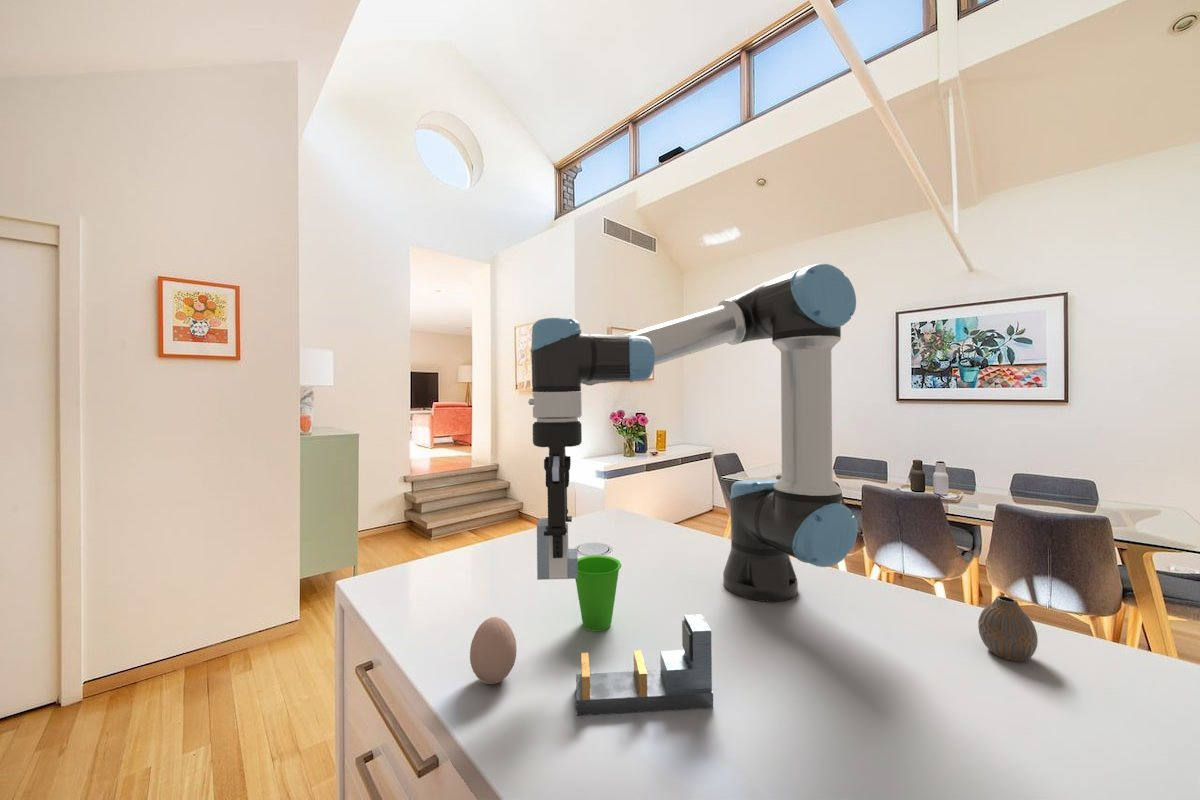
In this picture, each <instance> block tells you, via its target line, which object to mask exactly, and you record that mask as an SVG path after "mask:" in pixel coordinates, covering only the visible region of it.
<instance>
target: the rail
mask: <svg viewBox="0 0 1200 800" xmlns="http://www.w3.org/2000/svg"><path fill="white" fill-rule="evenodd" d="M683 617H684V618H683V619H684V620H681V630H682V631H681V633H682V634H681V635H682V636H681V638H682V639H681V640H682V641H681V642H682V647H683V649H677V650H660V653H659V654H660V658H659V659H660V669H655V670H647V669H646V668H647V667H646V665H645V664H646V663H645V661H644V657H643V654H642V650H641V649H637V650H635V649H634V650H633V670H631V671H618V672H617V671H616V672H615V671H614V672H597V673H595V672H594V673H590V672H591V671H590V670H591V669H590V661H589V660H590V659H589V652H581V654H580V657H581V658H580V660H581V662H580V663H581V664H580V665H581V670H580V671H581V672H580V673H579V674H578V673H577V674H576V675H575V684H576V685H575V686H576V687H575V689H576V690H575V691H576V716H577V717H579V716H581V717H583V716H596V715H598V716H600V715H614V714H633V713H635V714H636V713H650V712H651V713H652V712H667V711H668V712H669V711H685V710H704V709H714V692H713V685H712V684H713V672H712V671H713V669H712V668H713V666H712V663H713V662H712V661H713V659H712V658H713V657H712V656H713V655H712V653H713V651H712V629H711V628H710V626H709V624H708V623H707V620H705V619H706V618H705V617H704V616H703V615H702V614H699V613H698V614H697V613H696V614H684V615H683Z"/></svg>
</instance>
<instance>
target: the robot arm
mask: <svg viewBox="0 0 1200 800" xmlns="http://www.w3.org/2000/svg"><path fill="white" fill-rule="evenodd" d="M856 296H857V295H856V292H855V288H854V286H853V284H852V281H851V279H849V277H848V276H846V275H845V273H844V272H843V271H842V269H840V268H838V267H837V266H835V265H832V264H828V263H816V264H813V265H808V266H802V267H800V268H798V269H796V270H794V271H792V272H789V273H787V274H784V275H781V276H779V277H776V278H773V279H771V280H767V281H764V282H763V283H760V284H758V285H757V286H754V287H753V288H751V289H749V290H747V291H744V292H742V293H740V294H737V295H736V296H733V297H730V298H726V299H724V300H721V301H720V302H719V303H718V304H717V306H716V307H713V308H710V309H707V310H704V311H699V312H695V313H693V314H690V315H685V316H683V317H682V316H681V317H680V318H676V319H673V320H669V321H666V322H665V321H664V322H662V323H659V324H655V325H651V326H648V327H645V328H642V329H638V330H635V331H632V332H628V333H624V334H591V333H585V332H582V329H581V325H580V322H579V321H578V320H577V319H574V318H567V317H546V318H541V319H538V320H537V321H535V322H534V324H533V325H532V328H531V349H530V353H531V354H530V355H531V356H530V357H531V386H532V398H529V400H528V405H530V406H532V417H533V418H534V419H536V421H534V422H533V424H532V444H533V445H534V446H535V447H538V448H548V456H545V457H544V459H543V469H544V471H545V487H546V489H547V518H548V529H547V531H544V536H549V579H548V580H560V579H559V578H568V565H567V549H569V523H572V522H573V521H572V519H573V517H572V515H571V516H569V515H568V514H569V510H568V488H569V485H570V470H571V463H572V461H571V456H567V455H566V448H567V447H569V448H570V447H578V446H580V445H581V444H582V441H583V440H582V438H583V437H582V432H583V431H582V423H581V421H579V420H578V419H579V418H581V417H582V415H583V414H582V413H583V412H582V411H583V410H582V385H581V384H583V385H586V386H594V385H596V384H598V385H599V384H608V383H618V382H619V383H621V382H623V383H624V382H629V383H633V382H644V381H647V380H648V379H649V378H650V377H651V375H652V374H653V372H654V368H655V366H657V365H659V364H663V363H666V362H669V361H672V360H673V361H674V360H675V359H679V358H682V357H685V356H688V355H689V356H690V355H692V354H694V353H698V352H702V351H704V350H708V349H711V348H714V347H716V346H720V345H723V344H728V345H732V346H736V345H739V344H742V343H747V342H751V341H759V340H767V339H772V340H771V341H772V345H774V347H776V348H777V349H778V351H779V352H780V389H781V390H780V391H781V393H780V398H781V399H780V401H781V402H780V403H781V404H780V405H781V407H780V411H781V415H780V416H781V418H780V419H781V423H780V424H781V430H780V431H781V477H780V478H779V479H777V478H776V479H774V478H769V479H767V478H764V479H763V478H760V479H759V478H758V479H743V480H737V481H735V482H733V483H732V484H731V487H730V496H729V497H730V498H729V501H730V536H731V537H730V538H731V540H730V541H731V543H730V545H731V547H730V551H729V554H728V557H727V560H726V563H725V566H724V569H723V572H722V573H723V578H722V581H723V586H724V587H725V588H726V589H727V590H728V591H729V592H730V593H733V594H735V595H736V596H739V597H742V598H746V599H748V600H749V599H750V600H753V601H759V602H773V603H774V602H784V601H788V600H792V599H793V598H795V597H796V596H797V595H798V592H799V588H798V587H799V586H798V585H799V584H798V582H799V581H798V578H797V575H796V572H795V569H794V566H793V564H792V561H791V558H790V556H791V557H793V558H795V559H797V560H798V561H800V562H802V563H805V564H810V565H811V566H814V567H820V568H827V567H828V568H829V567H833V566H835V565H837V564H839V563H841V562H842V561H844V559H845V558H846V557H847V555H849V553H851V551H852V550H853V547H854V546H855V544H856V540H857V536H858V532H859V531H858V529H859V528H858V527H859V526H858V521H857V518H856V516H855V515H854V514H853V511H852V509H850V508H848V507H847V506H846V505H845V504H843V496H842V495H843V494H842V488H841V487H840V486H839V485H838V484H837V483H835V481H834V480H833V428H832V427H833V421H832V420H833V413H832V412H833V408H832V407H833V406H832V405H833V399H832V397H833V396H832V395H833V393H832V390H833V389H832V386H833V385H832V382H833V381H832V378H833V377H832V374H833V373H832V350H833V348H834V347H835V346H836V345H837V344H838V343H839V342H840V341H841V339H842V337H841V336H842V335H841V333H842V332H841V331H842V329H841V327H843V326H844V325H846V324H847V323H848V322H849V321H851V320H852V319H851V318H852V316H853V315H854V314H855V311H856V308H857V298H856Z"/></svg>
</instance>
